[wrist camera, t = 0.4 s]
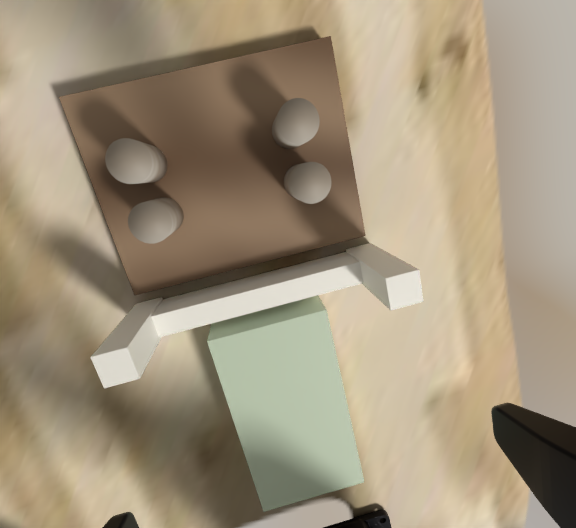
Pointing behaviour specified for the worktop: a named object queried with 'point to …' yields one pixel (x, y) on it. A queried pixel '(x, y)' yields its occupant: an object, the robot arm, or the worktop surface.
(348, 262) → the u-shaped frame
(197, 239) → the peg stand
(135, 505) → the worktop surface
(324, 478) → the board
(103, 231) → the worktop surface
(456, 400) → the worktop surface
